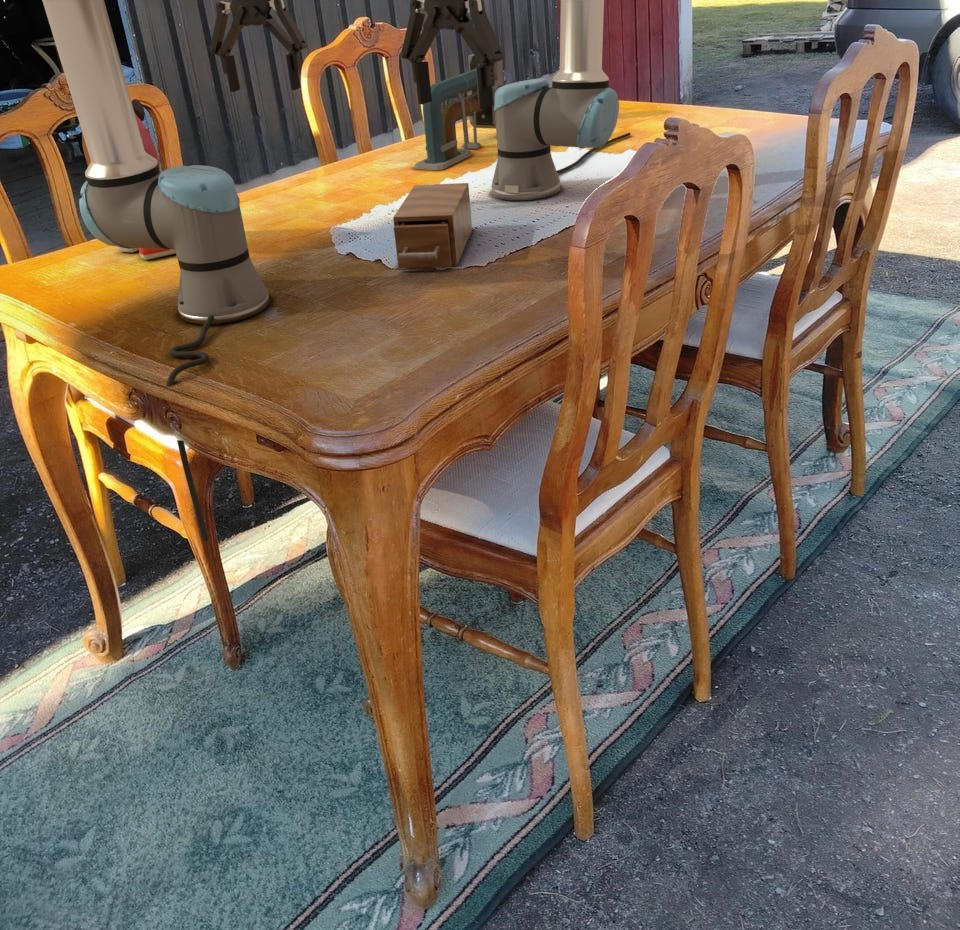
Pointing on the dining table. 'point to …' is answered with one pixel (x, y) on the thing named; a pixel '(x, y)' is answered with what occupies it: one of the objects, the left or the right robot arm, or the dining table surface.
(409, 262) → the drawer
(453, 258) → the cabinet
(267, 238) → the dining table surface
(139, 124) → the toy
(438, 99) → the clamp
